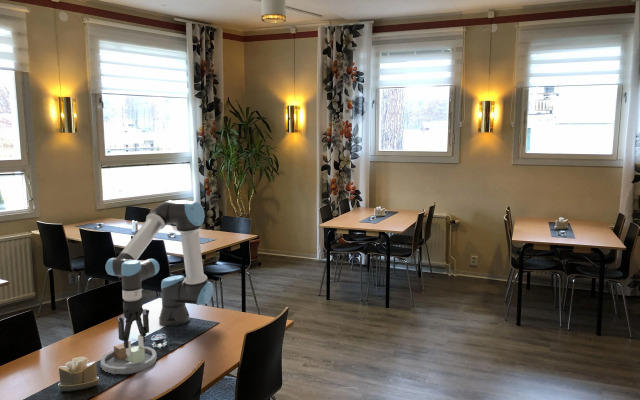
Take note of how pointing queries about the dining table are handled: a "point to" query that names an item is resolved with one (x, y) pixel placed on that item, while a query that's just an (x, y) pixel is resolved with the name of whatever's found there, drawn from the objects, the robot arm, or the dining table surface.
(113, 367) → the tray
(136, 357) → the pale green cube
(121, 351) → the brown wooden cube
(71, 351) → the dining table surface
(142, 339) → the robot arm
